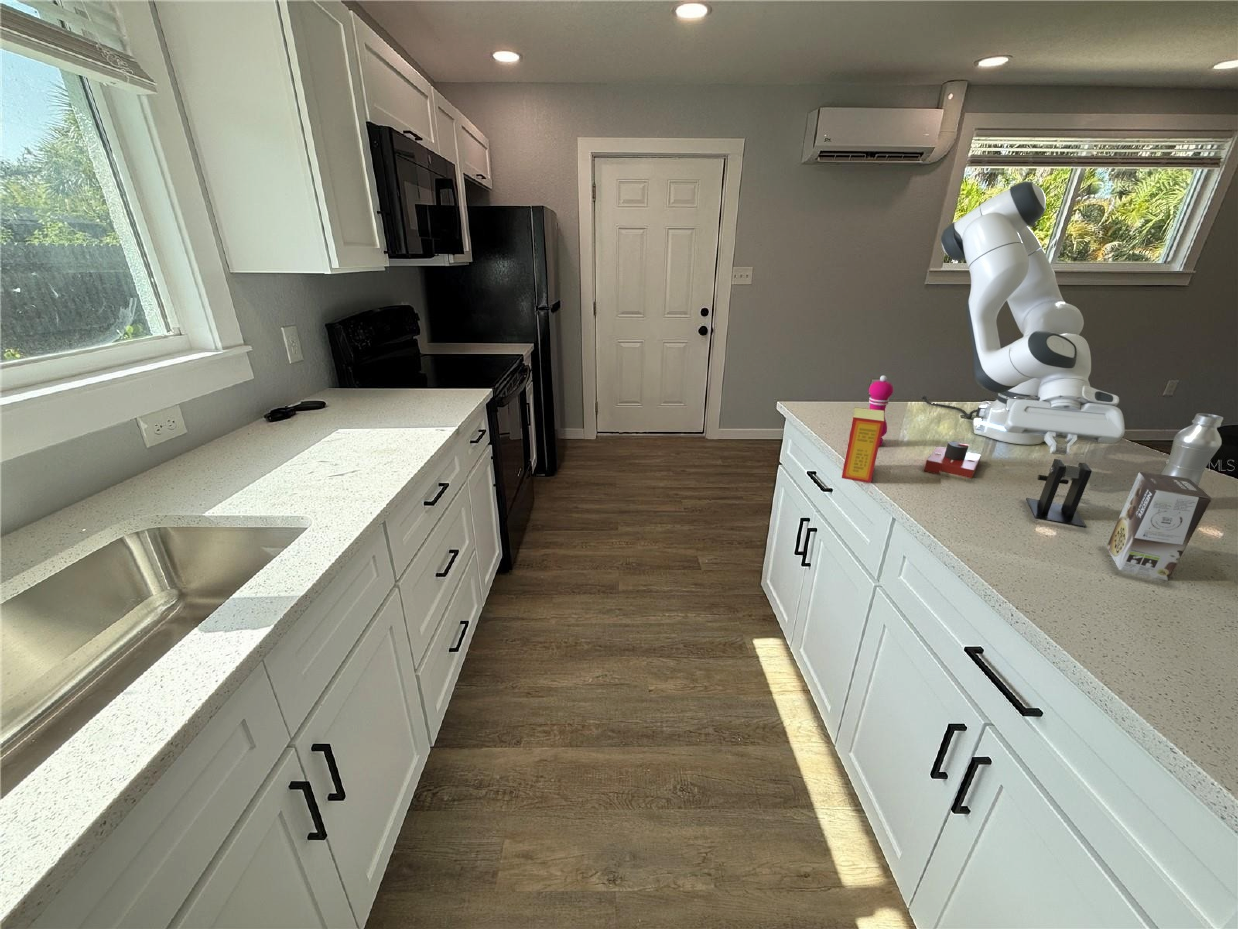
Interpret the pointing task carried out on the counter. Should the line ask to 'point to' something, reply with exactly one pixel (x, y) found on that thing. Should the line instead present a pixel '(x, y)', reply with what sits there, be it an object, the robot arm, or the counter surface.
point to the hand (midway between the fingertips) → (1059, 453)
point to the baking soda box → (863, 444)
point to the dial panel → (952, 463)
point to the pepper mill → (880, 398)
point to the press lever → (1065, 474)
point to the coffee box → (1156, 524)
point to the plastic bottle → (1194, 448)
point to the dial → (956, 450)
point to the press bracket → (1067, 510)
